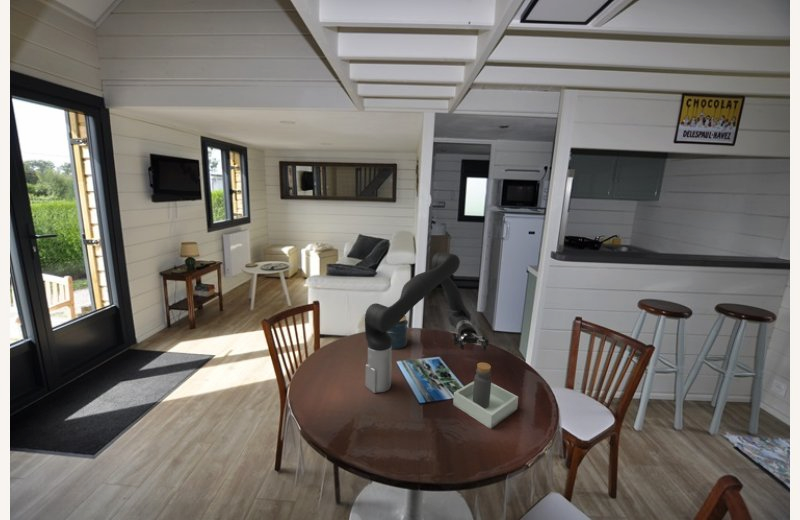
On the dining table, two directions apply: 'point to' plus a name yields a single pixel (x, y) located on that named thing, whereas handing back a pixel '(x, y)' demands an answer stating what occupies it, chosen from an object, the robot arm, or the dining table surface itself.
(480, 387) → the bottle
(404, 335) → the canister
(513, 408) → the bin
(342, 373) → the dining table surface
